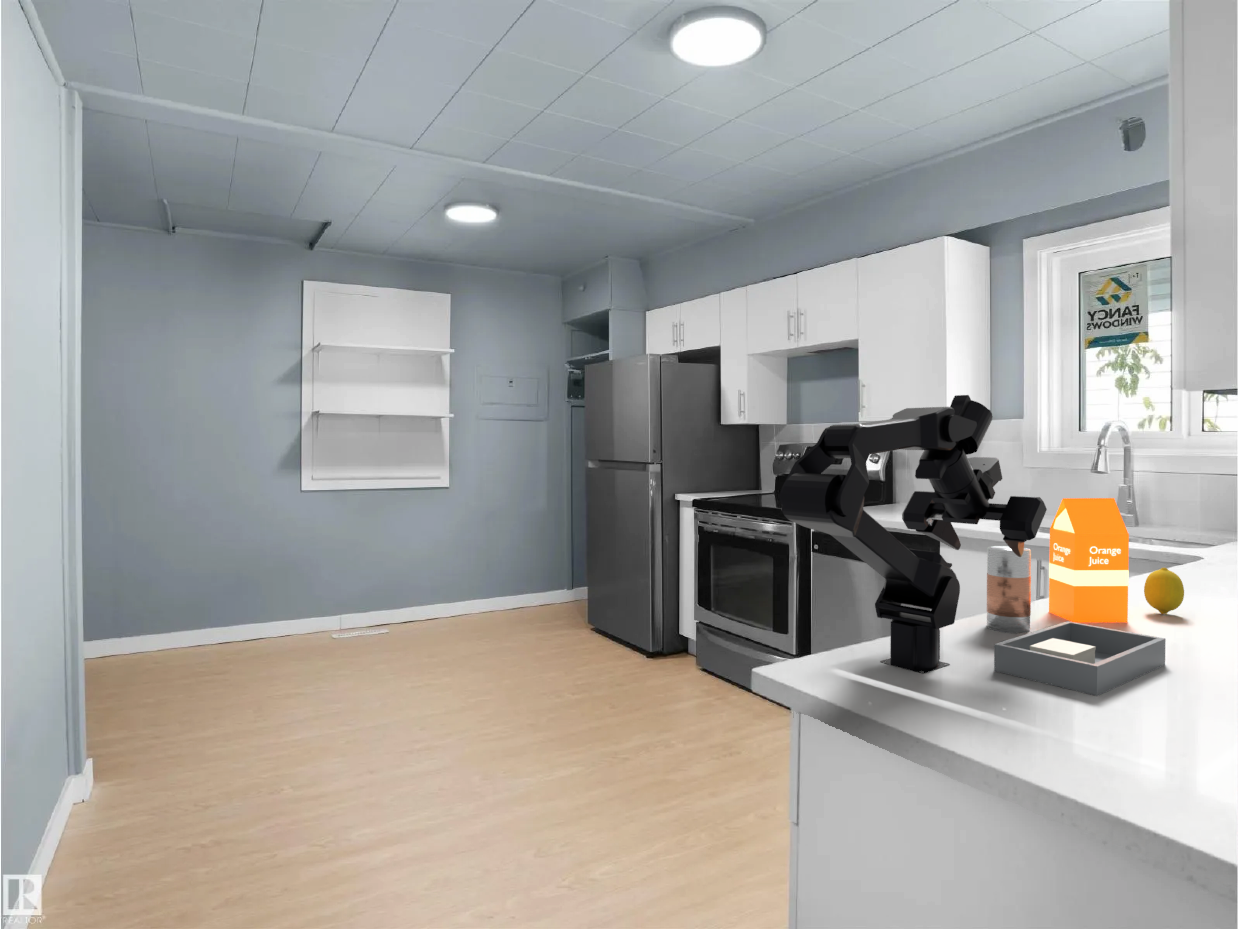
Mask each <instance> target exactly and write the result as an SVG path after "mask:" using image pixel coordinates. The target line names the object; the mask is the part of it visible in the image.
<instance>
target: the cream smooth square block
mask: <svg viewBox="0 0 1238 929" xmlns="http://www.w3.org/2000/svg"><path fill="white" fill-rule="evenodd" d="M1030 650H1031V651H1036V652H1040V653H1045V654H1050V655H1054V656H1059V657H1064V658H1068V659H1073V660H1078V661H1082V662H1087V663H1091V664H1094V663H1095V650H1096V647H1095V646H1090V645H1085V644H1080V643H1075V642H1070V641H1065V640H1060V639H1055V638H1052V639H1049V640H1046V641H1043V642H1040V643H1037V644H1034V645H1031V646H1030Z"/></svg>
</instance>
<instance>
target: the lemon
mask: <svg viewBox="0 0 1238 929" xmlns="http://www.w3.org/2000/svg"><path fill="white" fill-rule="evenodd" d="M1144 582H1145V583H1144V586H1143V589H1144V590H1143V592H1144V598H1145V600H1146V602H1147V603H1148V605H1149V606H1150V607H1152V608H1153V609H1155V610H1157V611H1158V612H1159V613H1160V614H1161V615H1167V614H1168V613H1170V612H1172V611H1174V610H1176V609H1177V608H1179V607H1180V606H1181V605H1182V603H1183V601H1184V598H1185V588H1184V584H1183V581H1182V579H1181V577H1180V576H1179V575H1178V574H1177V573H1175V572H1174V571H1171V570H1170V569H1168V567H1161V568H1160V569H1156V570H1154V571H1152V572H1151V573H1149V574H1148V576H1147V577H1146V579H1145V581H1144Z"/></svg>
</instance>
